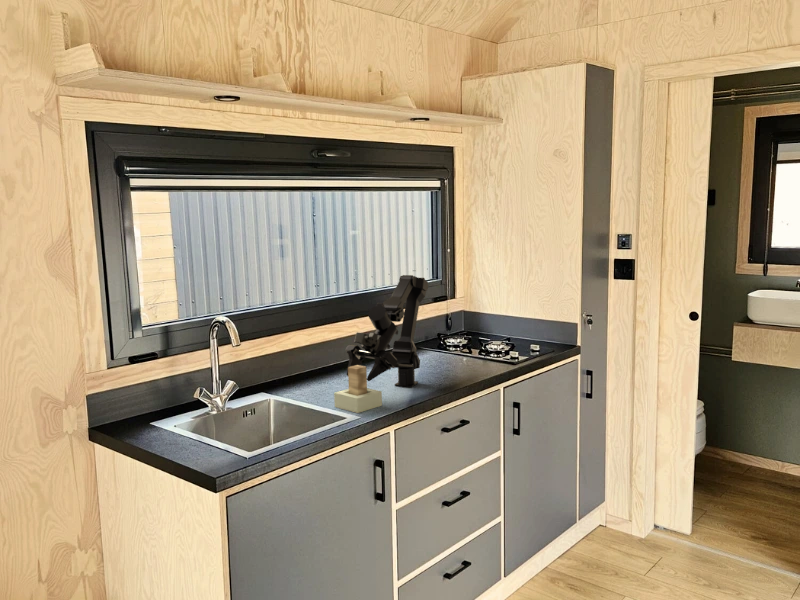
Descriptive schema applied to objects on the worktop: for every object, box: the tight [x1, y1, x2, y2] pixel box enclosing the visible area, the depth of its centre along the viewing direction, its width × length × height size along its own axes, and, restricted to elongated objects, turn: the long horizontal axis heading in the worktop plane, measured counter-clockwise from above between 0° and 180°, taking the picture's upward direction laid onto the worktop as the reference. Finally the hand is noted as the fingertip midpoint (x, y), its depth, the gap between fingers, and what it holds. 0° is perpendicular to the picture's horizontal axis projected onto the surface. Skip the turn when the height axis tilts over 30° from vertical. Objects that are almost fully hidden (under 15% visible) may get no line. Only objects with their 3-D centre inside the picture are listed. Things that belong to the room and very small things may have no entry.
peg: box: [347, 365, 368, 396], centre depth 221 cm, size 4×4×12 cm
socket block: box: [333, 387, 383, 414], centre depth 222 cm, size 10×10×4 cm
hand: (357, 378), depth 221 cm, fingers open, 9 cm apart
